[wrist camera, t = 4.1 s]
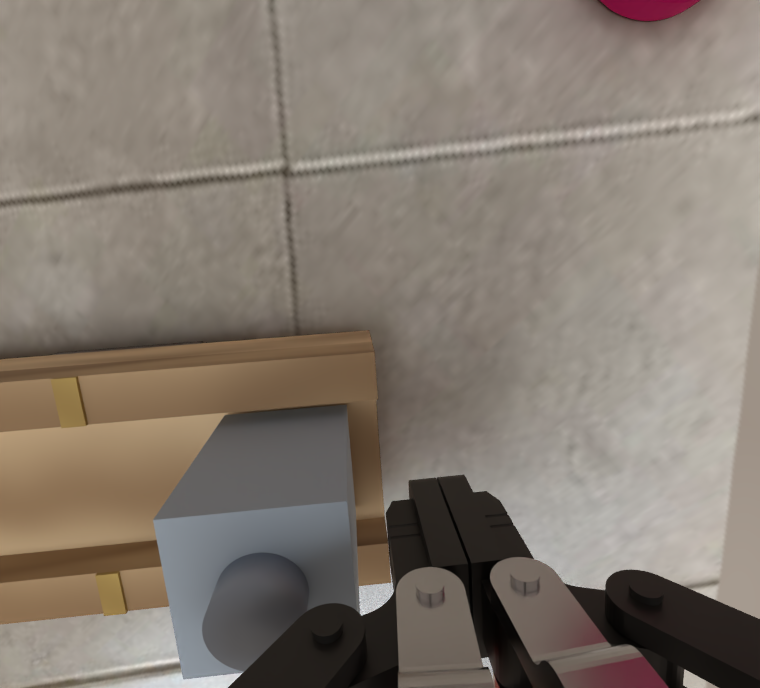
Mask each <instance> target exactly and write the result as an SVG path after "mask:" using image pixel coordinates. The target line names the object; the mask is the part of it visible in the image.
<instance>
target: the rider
mask: <svg viewBox="0 0 760 688" xmlns="http://www.w3.org/2000/svg"><path fill="white" fill-rule="evenodd" d="M153 523H154V528H155V533H156V539H157V544H158V549H159V554H160V560H161V565H162V570H163V575H164V581H165V586H166V591H167V596H168V601H169V607H170V612H171V617H172V622H173V628H174V633H175V638H176V643H177V648H178V654H179V659H180V664H181V669H182V675H183V679H191V678H199V677H208V676H217V675H225V674H234V673H243V672H244V671H245V670H247V669H248V668H249V667H250V666H251V665H252V664H253V663H254V662H255V661H256V660H257V659H258V658H259V657H260V656H261V655H262V654H263V653H264V652H265V651H266V650H267V649H268V648H269V647H270V646H271V645H272V644H273V643H274V642H275V641H276V640H277V639H278V638H279V637H280V636H281V635H282V634H283V633H284V632H285V631H286V630H287V629H288V628H289V627H290V626H291V625H292V624H293V623H294V622H295V621H296V620H297V619H298V618H299V617H300V616H302V615H303V614H304V613H305V612H307V611H308V610H310V609H312V608H314V607H316V606H319V605H323V604H328V603H340V604H345V605H348V606H350V607H352V608H354V609H355V610H356V611H358V612H359V614H360V608H359V581H358V554H357V527H356V507H355V496H354V484H353V472H352V461H351V449H350V438H349V426H348V415H347V405H336V406H324V407H313V408H301V409H290V410H278V411H266V412H255V413H243V414H232V415H225V416H224V417H223V418H222V420H221V421H220V423H219V424H218V426H217V427H216V429H215V430H214V432H213V433H212V435H211V436H210V437H209V439H208V440H207V442H206V443H205V445H204V446H203V448H202V449H201V451H200V452H199V454H198V455H197V456H196V458H195V459H194V461H193V462H192V464H191V465H190V467H189V468H188V470H187V471H186V473H185V474H184V475H183V477H182V478H181V480H180V481H179V483H178V484H177V486H176V487H175V489H174V490H173V492H172V493H171V494H170V496H169V497H168V499H167V500H166V502H165V503H164V505H163V506H162V508H161V509H160V511H159V512H158V513H157V515H156V516H155V518H154V519H153Z"/></svg>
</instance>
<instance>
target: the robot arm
mask: <svg viewBox="0 0 760 688" xmlns="http://www.w3.org/2000/svg"><path fill="white" fill-rule="evenodd" d="M386 520H387V532H388V545H389V557H390V567H391V574H392V582H393V589H394V593H393V595H392V596H391V598H390V599H389V600H388V601H387V602H386V603H385V604H384V605H383V606H381V607H380V608H378V609H377V610H375V611H372V612H370V613H368V614H365V615H363V616H361V615H360V614H359V612H358V611H356V610H355V609H354V608H352V607H350V606H348V605H345V604H340V603H328V604H323V605H319V606H316V607H314V608H312V609H310V610H308V611H307V612H305V613H304V614H303V615H302V616H300V617H299V618H298V619H297V620H296V621H295V622H294V623H293V624H292V625H291V626H290V627H289V628H288V629H287V630H286V631H285V632H284V633H283V634H282V635H281V636H280V637H279V638H278V639H277V640H276V641H275V642H274V643H273V644H272V645H271V646H270V647H269V648H268V649H267V650H266V651H265V652H264V653H263V654H262V655H261V656H260V657H259V658H258V659H257V660H256V661H255V662H254V663H253V664H252V665H251V666H250V667H249V668H248V669H247V670H245V671H244V672H243V673H242V674H241V675H240V676H239V677H238V678H237V679H236V680H235V681H234V682H233V683H232V684H231V685H230V686H229V687H228V688H686V687H685V686H683V677H684V669H686V670H687V671H689V672H691V673H693V674H695V675H697V676H699V677H700V678H702V679H704V680H706V681H708V682H710V683H712V684H713V685H715V686H717V687H719V688H760V619H758V618H755V617H753V616H751V615H748V614H746V613H744V612H742V611H739V610H737V609H735V608H732V607H729V606H728V605H725V604H723V603H721V602H718V601H716V600H714V599H711V598H709V597H707V596H704V595H702V594H700V593H698V592H695V591H693V590H691V589H688V588H686V587H684V586H681V585H679V584H677V583H674V582H672V581H670V580H667V579H665V578H663V577H660V576H658V575H655V574H653V573H649V572H646V571H640V570H623V571H618V572H616V573H614V574H612V575H611V576H610V577H609V578H608V579H607V581H606V589H605V590H598V589H590V588H582V587H576V586H571V585H568V584H565V583H563V581H562V580H561V579H560V577H559V576H558V575H557V573H556V572H555V571H554V570H553V569H552V568H551V567H549V566H548V565H546V564H544V563H542V562H540V561H538V560H535V559H534V558H533V556H532V555H531V553H530V551H529V549H528V548H527V546H526V544H525V543H524V541H523V539H522V538H521V536H520V534H519V532H518V531H517V529H516V527H515V526H513V522H512V520H511V519H510V517H509V515H507V512H506V510H505V509H504V507H503V505H502V503H501V502H500V501H499V500H498V499H497V498H495V497H494V496H492V495H491V494H489V493H488V492H487V491H484V492H474V493H473V491H472V489H471V487H470V485H469V483H468V481H467V479H466V477H465V476H464V475H456V476H447V477H437V480H436V478H428V479H419V480H409V500H400V501H392V503H391V505H390V507H389V508H388V510H387V512H386ZM485 657H489V660H490V663H491V665H492V669H493V679H492V676H491V672H490V670H489V668H488V667H483V664H482V660H481V658H485Z"/></svg>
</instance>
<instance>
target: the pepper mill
mask: <svg viewBox="0 0 760 688" xmlns="http://www.w3.org/2000/svg"><path fill="white" fill-rule="evenodd" d="M600 1H601V2H602V3H603V4H604V5H605V6H607V7H608V8H609V9H610V10H611V11H613V12H615V13H618V14H620V15H622V16H624V17H627V18H630V19H634V20H640V21H656V20H662V19H666V18H669V17H672V16H675V15H677V14H679V13H681V12H683V11H685V10H686V9H688V8H690V7H691V6H693V5H694V4H696V3H697V2H699V1H700V0H600Z"/></svg>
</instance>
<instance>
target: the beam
mask: <svg viewBox="0 0 760 688" xmlns="http://www.w3.org/2000/svg"><path fill="white" fill-rule="evenodd" d="M376 400H378V393H377V379H376V365H375V352H374V348H373V344H372V340H371V336H370V332H369V330H366V331H354V332H341V333H328V334H315V335H303V336H290V337H277V338H265V339H252V340H239V341H226V342H214V343H203V341H202V342H190V343H177V344H164V345H151V346H139V347H126V348H113V349H100V350H88V351H75V352H62V353H56V354H54V355H48V356H36V357H23V358H10V359H0V624H9V623H18V622H28V621H37V620H46V619H55V618H65V617H74V616H83V615H93V614H102V613H104V616H108V615H117V614H126V613H127V611H130V610H139V609H149V608H158V607H167V606H169V601H168V596H167V591H166V586H165V581H164V575H163V570H162V565H161V560H160V554H159V549H158V544H157V539H156V533H155V528H154V523H153V519H154V518H155V516H156V515H157V513H158V512H159V511H160V509H161V508H162V506H163V505H164V503H165V502H166V500H167V499H168V497H169V496H170V494H171V493H172V492H173V490H174V489H175V487H176V486H177V484H178V483H179V481H180V480H181V478H182V477H183V475H184V474H185V473H186V471H187V470H188V468H189V467H190V465H191V464H192V462H193V461H194V459H195V458H196V456H197V455H198V454H199V452H200V451H201V449H202V448H203V446H204V445H205V443H206V442H207V440H208V439H209V437H210V436H211V435H212V433H213V432H214V430H215V429H216V427H217V426H218V424H219V423H220V421H221V420H222V418H223V417H224V416H225V415H232V414H243V413H255V412H266V411H278V410H290V409H301V408H313V407H324V406H336V405H347V415H348V426H349V438H350V449H351V461H352V472H353V484H354V496H355V507H356V527H357V554H358V581H359V586H363V585H373V584H382V583H391V576H390V562H389V548H388V539H387V531H386V524H385V517H384V503H383V489H382V475H381V461H380V447H379V433H378V419H377V405H376Z"/></svg>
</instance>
